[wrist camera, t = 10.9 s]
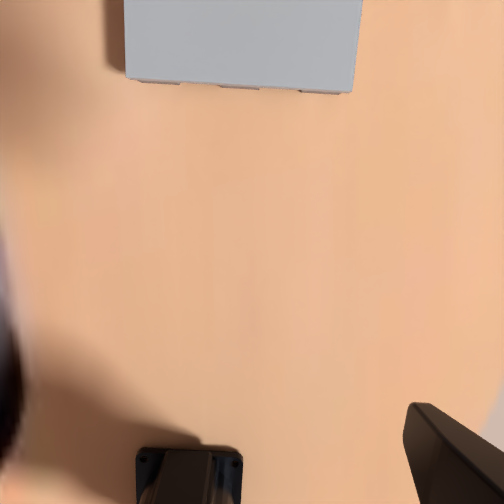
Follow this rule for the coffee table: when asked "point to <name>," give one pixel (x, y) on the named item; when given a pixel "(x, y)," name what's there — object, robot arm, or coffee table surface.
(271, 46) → the block
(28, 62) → the coffee table surface
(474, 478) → the robot arm
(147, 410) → the coffee table surface
